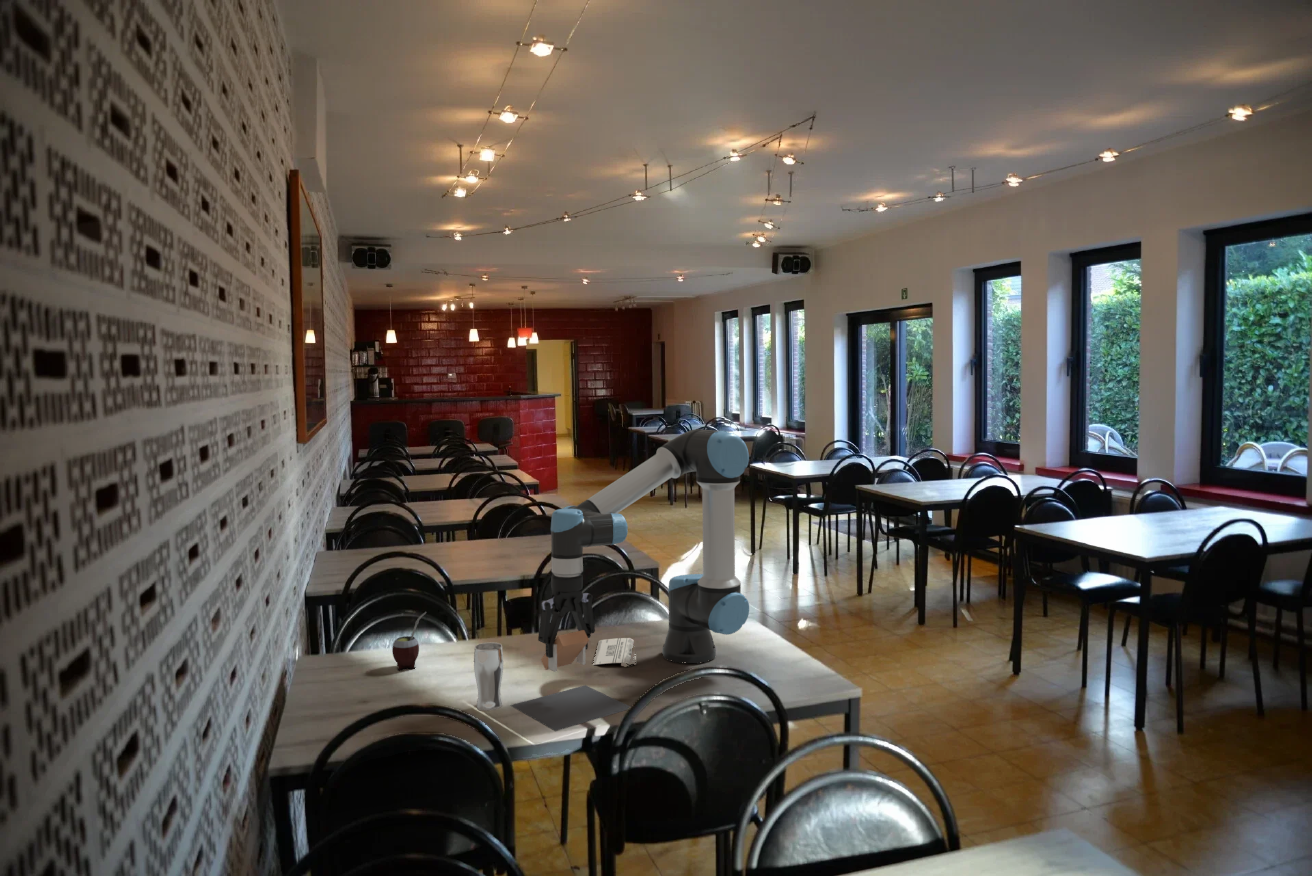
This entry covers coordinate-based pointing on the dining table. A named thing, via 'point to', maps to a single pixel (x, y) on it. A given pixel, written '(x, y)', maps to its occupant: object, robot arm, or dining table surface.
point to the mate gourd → (406, 650)
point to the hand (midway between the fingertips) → (567, 666)
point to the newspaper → (614, 651)
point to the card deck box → (568, 648)
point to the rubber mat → (570, 707)
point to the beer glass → (488, 674)
